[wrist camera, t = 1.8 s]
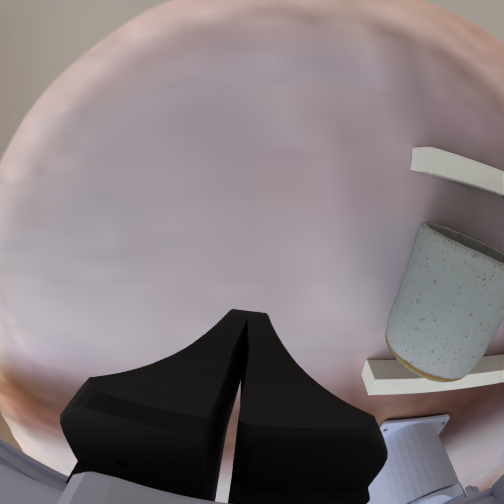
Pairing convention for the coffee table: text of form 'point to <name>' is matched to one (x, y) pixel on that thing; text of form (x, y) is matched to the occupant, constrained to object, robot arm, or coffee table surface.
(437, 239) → the ceramic mug
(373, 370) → the track rails
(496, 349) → the coffee table surface
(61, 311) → the coffee table surface
